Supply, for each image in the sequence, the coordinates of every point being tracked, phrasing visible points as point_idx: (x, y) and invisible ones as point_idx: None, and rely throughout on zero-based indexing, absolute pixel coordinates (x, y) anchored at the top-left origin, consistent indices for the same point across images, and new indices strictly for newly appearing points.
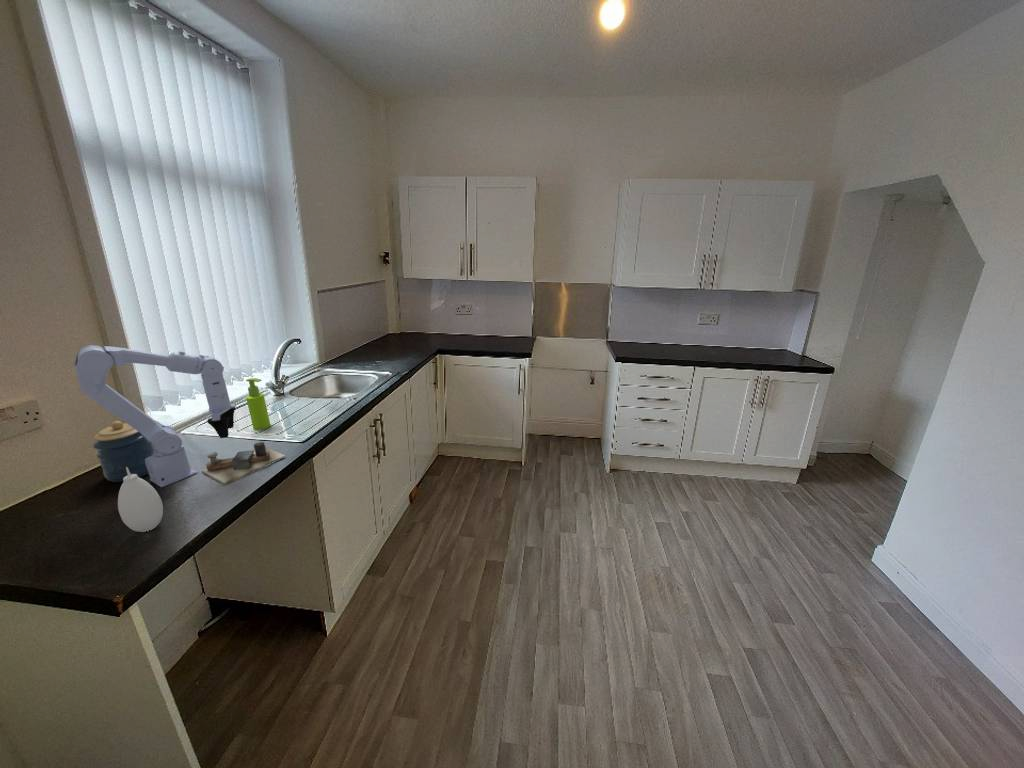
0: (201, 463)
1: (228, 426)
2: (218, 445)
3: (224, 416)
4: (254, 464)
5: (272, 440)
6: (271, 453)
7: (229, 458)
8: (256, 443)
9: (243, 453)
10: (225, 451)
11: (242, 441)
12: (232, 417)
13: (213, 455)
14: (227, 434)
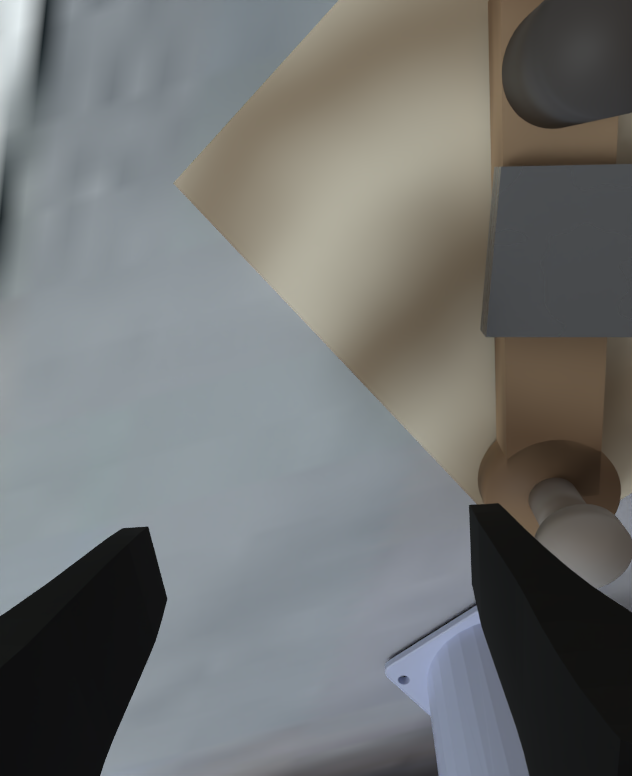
0: (356, 591)
1: (147, 590)
2: (58, 570)
3: (63, 772)
4: (627, 138)
5: (10, 130)
6: (408, 11)
7: (512, 398)
8: (576, 85)
9: (556, 265)
10: (183, 493)
11: (3, 418)
12: (49, 631)
13: (624, 534)
14: (518, 523)
